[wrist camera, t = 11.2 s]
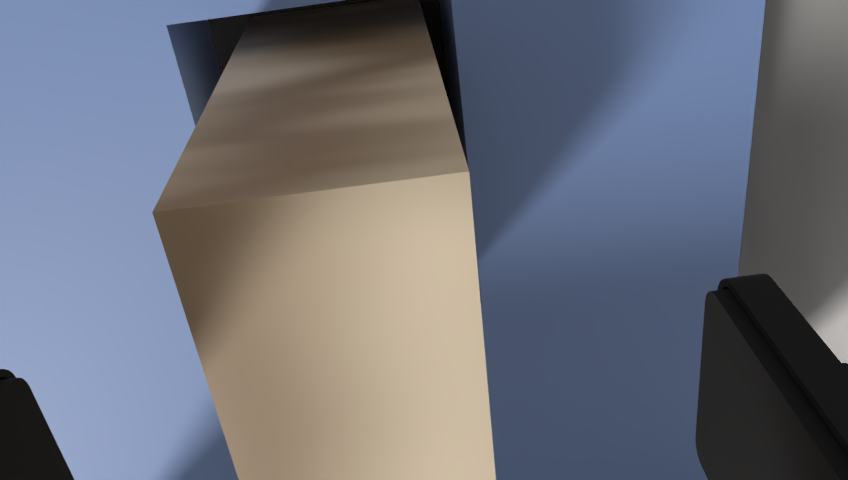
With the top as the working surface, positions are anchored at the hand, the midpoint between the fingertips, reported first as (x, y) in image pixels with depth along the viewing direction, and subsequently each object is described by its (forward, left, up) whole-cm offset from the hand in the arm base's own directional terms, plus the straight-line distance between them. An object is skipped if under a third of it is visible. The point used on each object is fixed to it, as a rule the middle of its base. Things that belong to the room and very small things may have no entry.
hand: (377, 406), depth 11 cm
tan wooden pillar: (0, 0, -11) cm, 11 cm away
